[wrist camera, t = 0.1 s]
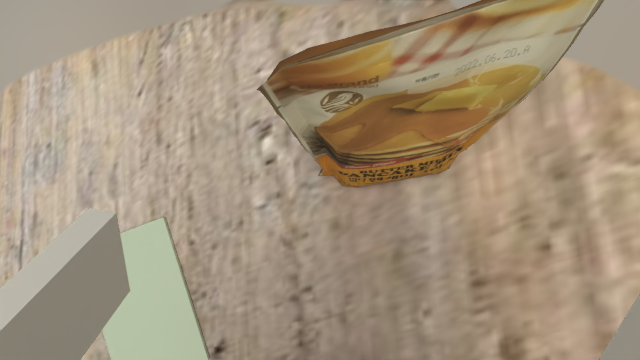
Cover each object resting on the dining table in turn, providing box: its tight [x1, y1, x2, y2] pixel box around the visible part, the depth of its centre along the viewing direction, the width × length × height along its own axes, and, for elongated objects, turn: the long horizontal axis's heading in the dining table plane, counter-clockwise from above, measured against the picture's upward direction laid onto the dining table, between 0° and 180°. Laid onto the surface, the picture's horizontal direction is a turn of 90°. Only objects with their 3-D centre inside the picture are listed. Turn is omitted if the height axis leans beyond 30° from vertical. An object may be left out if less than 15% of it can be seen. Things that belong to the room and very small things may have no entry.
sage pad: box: [102, 217, 210, 360], centre depth 47 cm, size 16×10×1 cm, turn 20°
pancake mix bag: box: [257, 0, 604, 187], centre depth 34 cm, size 7×19×28 cm, turn 99°
